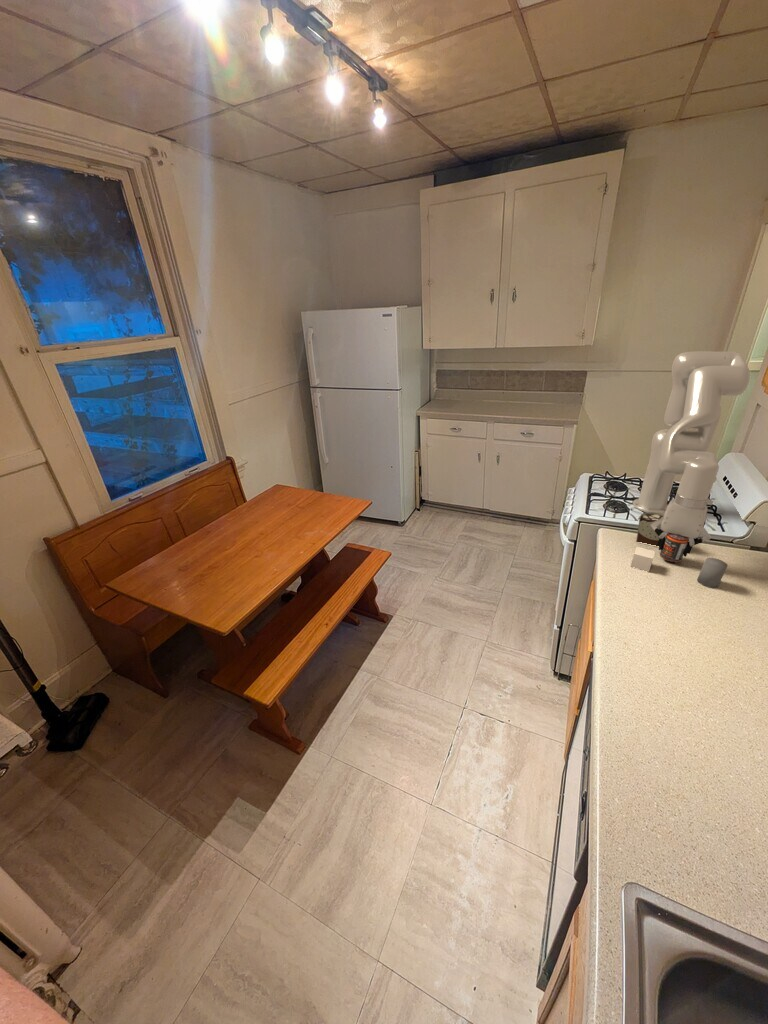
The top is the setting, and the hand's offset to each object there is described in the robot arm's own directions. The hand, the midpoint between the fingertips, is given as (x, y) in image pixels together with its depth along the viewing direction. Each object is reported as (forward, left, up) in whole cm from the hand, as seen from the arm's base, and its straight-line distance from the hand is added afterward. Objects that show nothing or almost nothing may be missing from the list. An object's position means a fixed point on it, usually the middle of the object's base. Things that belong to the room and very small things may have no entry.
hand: (672, 550), depth 128 cm
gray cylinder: (+8, +10, -3) cm, 13 cm away
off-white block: (+9, -7, -4) cm, 12 cm away
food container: (-9, -6, -4) cm, 12 cm away
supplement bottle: (0, 0, -3) cm, 3 cm away
